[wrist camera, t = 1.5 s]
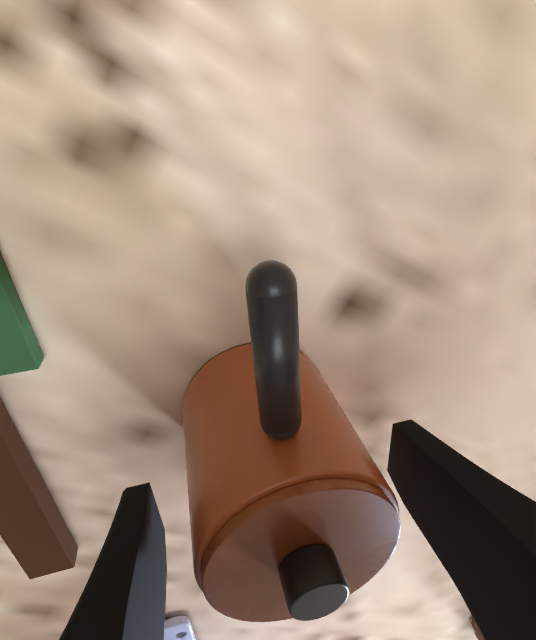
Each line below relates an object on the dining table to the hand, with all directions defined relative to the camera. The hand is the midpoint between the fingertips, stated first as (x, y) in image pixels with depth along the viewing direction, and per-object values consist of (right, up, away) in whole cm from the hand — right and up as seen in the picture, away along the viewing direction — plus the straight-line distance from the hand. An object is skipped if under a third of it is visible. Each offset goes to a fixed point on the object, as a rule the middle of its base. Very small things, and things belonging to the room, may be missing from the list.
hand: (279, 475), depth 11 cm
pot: (-1, +3, +2) cm, 4 cm away
